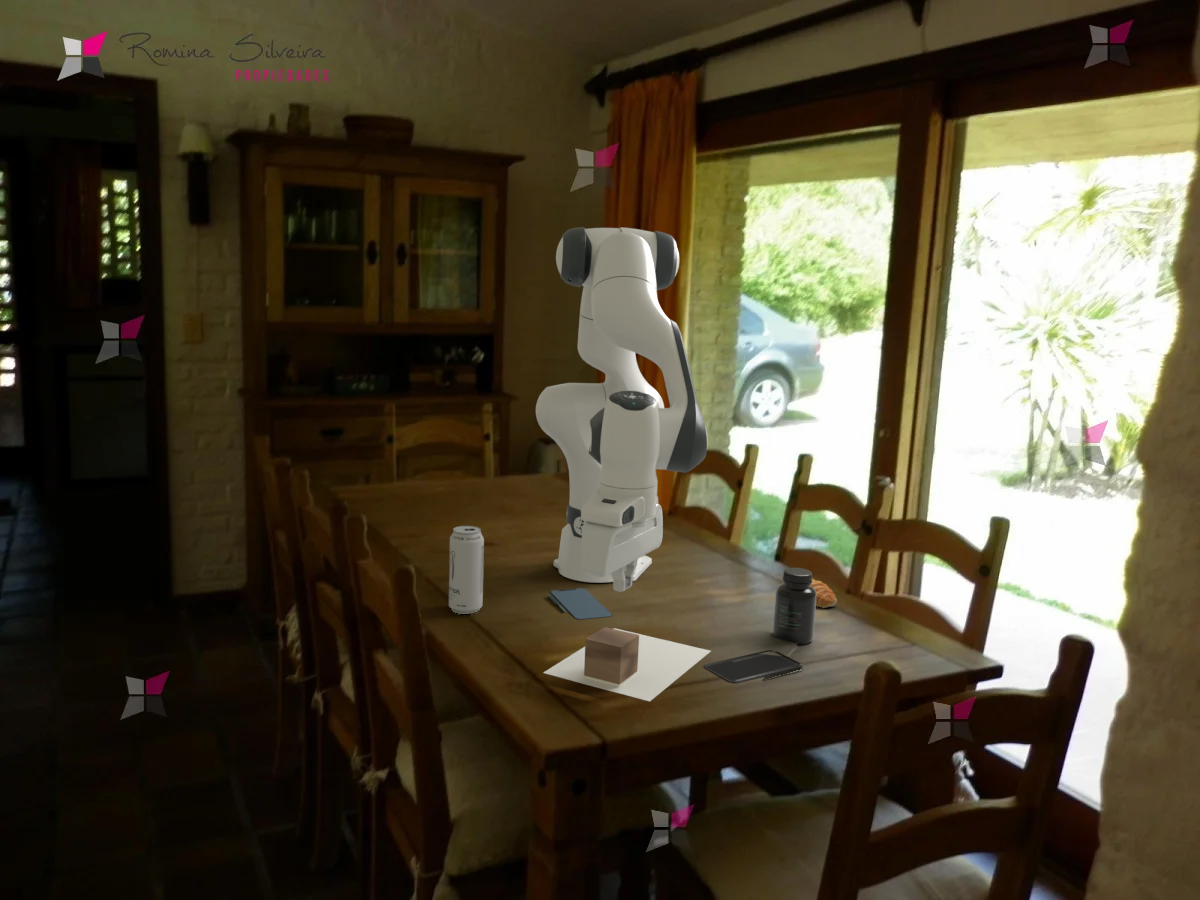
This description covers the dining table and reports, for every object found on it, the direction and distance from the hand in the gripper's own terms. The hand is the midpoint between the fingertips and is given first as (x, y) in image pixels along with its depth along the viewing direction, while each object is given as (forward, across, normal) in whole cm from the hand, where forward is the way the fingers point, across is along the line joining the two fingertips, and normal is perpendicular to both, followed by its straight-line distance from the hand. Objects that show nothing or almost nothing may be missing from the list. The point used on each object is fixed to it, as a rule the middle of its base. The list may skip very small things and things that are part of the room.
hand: (622, 589), depth 150 cm
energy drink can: (+14, -9, -36) cm, 39 cm away
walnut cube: (+6, +3, 0) cm, 7 cm away
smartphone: (+15, -22, -19) cm, 33 cm away
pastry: (+14, -52, +16) cm, 57 cm away
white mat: (+13, -3, 0) cm, 14 cm away
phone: (+14, -13, +17) cm, 26 cm away
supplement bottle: (+14, -30, +18) cm, 38 cm away
